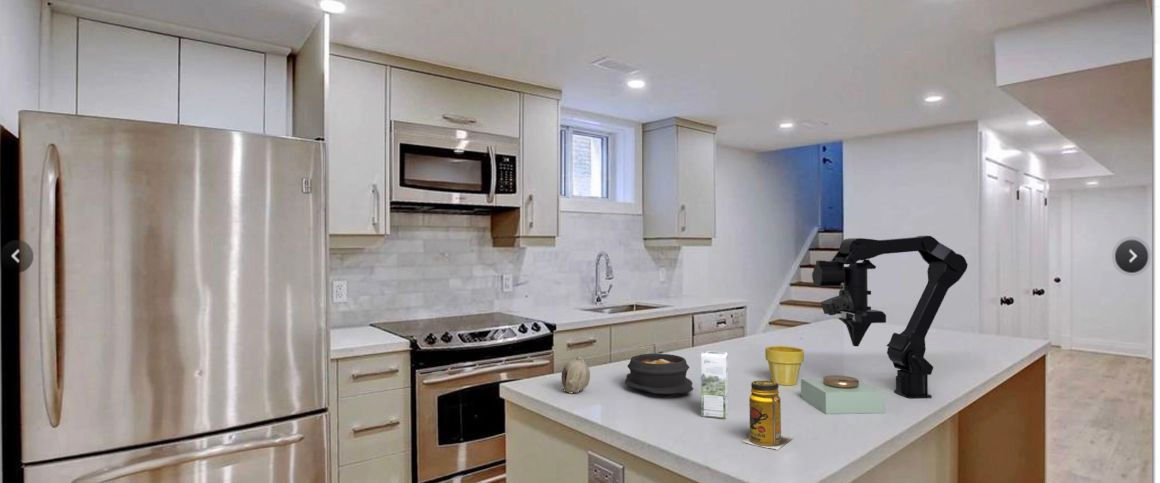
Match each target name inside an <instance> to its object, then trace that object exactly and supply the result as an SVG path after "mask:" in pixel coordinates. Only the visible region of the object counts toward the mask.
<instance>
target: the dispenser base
mask: <svg viewBox="0 0 1160 483" xmlns="http://www.w3.org/2000/svg"><path fill="white" fill-rule="evenodd" d="M858 380H859V386H858V387H855V388H839V387H833V386H828V385H826V384H824V383H823V377H821V378H818V377H815V378H814V377H813V378H809V377H808V378H800V398H801V399H802V400H803V401H805V402H806V403H808V404H809V405H811V406H813V407H814V408H816V409H817V410H819V411H821V412H822V413H824V414H825V415H841V414H842V415H846V414H852V415H853V414H885V412H886V411H885V409H886V408H885V407H886V405H885V404H886V403H885V402H886V400H885V399H886V398H885V391H884V390H881V389H879V388H877V387H875V386H873V385H871V384H868V383H867V382H865V381H862V380H860V379H858Z"/></svg>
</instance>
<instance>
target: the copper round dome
mask: <svg viewBox="0 0 1160 483" xmlns="http://www.w3.org/2000/svg"><path fill="white" fill-rule="evenodd" d="M822 378H823V383H824V384H826V385H828V386H833V387H839V388H855V387H858V386H859V380H860V379H858V378H856V377H854V376H853V377H852V376H847V375H846V376H845V375H839V374H838V375H836V374H835V375H834V374H831V375H824V376H823V377H822Z"/></svg>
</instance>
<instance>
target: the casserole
mask: <svg viewBox="0 0 1160 483" xmlns="http://www.w3.org/2000/svg"><path fill="white" fill-rule="evenodd" d="M627 368H628V369H629V371H630V373H628V374H626V378H625V380H624V383H625V385H627V386H628V387H631V388H634V389H637V390H639V391H641V392H644V391H645V393H649V392H650V394H655V395H656V394H657V395H677V394H685V393H689V392H692V391H693V390H694V387H693V386H692V385H693V382H692V380H691V379H690V378H688V377H686V376H687V372H688V370H689V369H690V366H689V364H688V363H687V360H686V358H685V357H683V356H680V355H676V354H668V353H643V354H637V355H635V356H632V357H631V358H630V362H629V363H628V364H627Z"/></svg>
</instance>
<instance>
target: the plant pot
mask: <svg viewBox="0 0 1160 483" xmlns="http://www.w3.org/2000/svg"><path fill="white" fill-rule="evenodd" d="M804 350H805V349H803V348H800V347H795V346H788V345H787V346H786V345H770V346H766V347H765V360H766V361H767V364H768V368H769V373H770V378H771V381H772V382H775V383H777V384H778V386H779V385H780V386H795V385H797V384H798V378H799V375H800V369H801V365H802V363H804V359H805V351H804Z"/></svg>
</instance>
